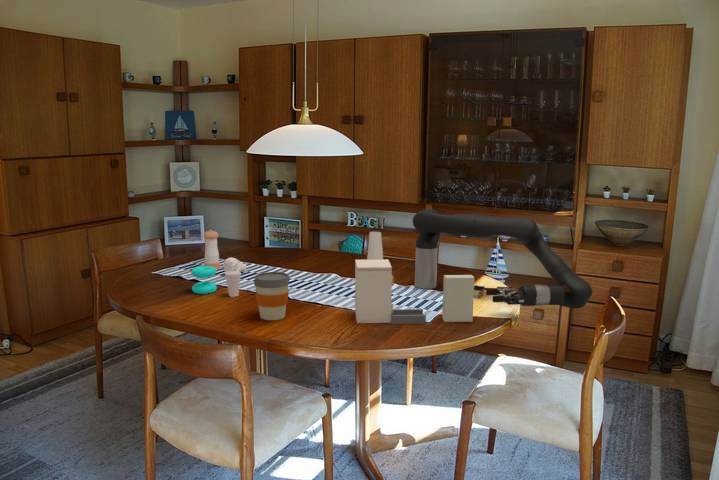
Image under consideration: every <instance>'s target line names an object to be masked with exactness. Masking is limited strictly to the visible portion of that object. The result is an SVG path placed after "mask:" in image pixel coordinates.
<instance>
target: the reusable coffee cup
mask: <svg viewBox="0 0 719 480" xmlns="http://www.w3.org/2000/svg"><path fill="white" fill-rule="evenodd" d="M253 285H254V286H255V293H254V295H255V299H256V304H257V305H258V311H259V316H260V319H262V320H265V321H277V320H279V321H280V320H282V319H284V318H285V317H286V309H287V304H288V303H289V296H290V295H289V294H290V290H289V286H290V277H289V274H288V273H285V272H283V271H282V272H279V271H268V272H267V271H266V272H260V273H258V274H255V276H254V281H253Z"/></svg>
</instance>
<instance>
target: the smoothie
mask: <svg viewBox="0 0 719 480" xmlns="http://www.w3.org/2000/svg"><path fill="white" fill-rule="evenodd" d="M224 276H225V280H226V285H227V291H228V297H229V296H230V297H229V298H235V297H236V296H237V297H238V296H239V294H240V292H239V291H240V285H241V283H240V282H241V280H240V279H241V276H242V273H241V272H240V271H233V262H231V271H228V272H225V271H224Z"/></svg>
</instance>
